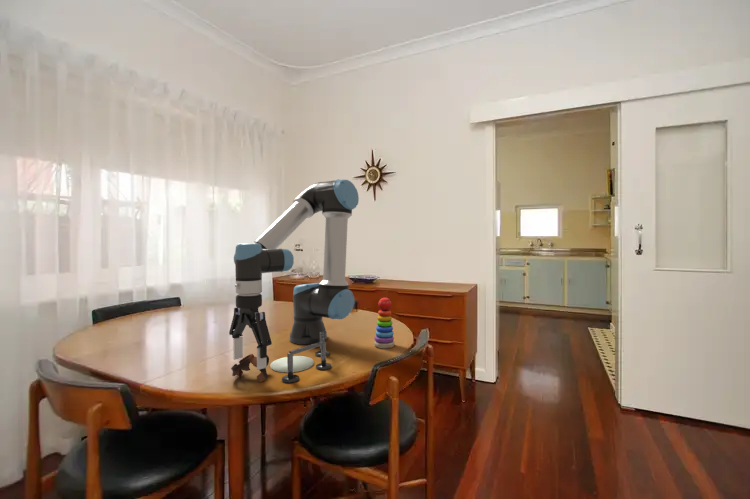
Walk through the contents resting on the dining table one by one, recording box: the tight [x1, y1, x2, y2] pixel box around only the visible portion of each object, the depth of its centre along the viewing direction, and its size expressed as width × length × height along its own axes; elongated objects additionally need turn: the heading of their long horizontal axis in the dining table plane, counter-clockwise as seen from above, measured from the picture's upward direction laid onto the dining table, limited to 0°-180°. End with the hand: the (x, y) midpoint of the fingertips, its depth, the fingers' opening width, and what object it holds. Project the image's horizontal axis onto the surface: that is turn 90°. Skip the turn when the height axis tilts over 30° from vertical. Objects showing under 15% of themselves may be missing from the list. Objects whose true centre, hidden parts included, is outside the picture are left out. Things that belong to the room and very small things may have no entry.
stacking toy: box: [373, 297, 396, 349], centre depth 137 cm, size 8×8×19 cm
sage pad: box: [269, 355, 315, 374], centre depth 118 cm, size 14×14×1 cm
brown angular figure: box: [230, 353, 270, 383], centre depth 108 cm, size 12×10×8 cm
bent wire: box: [281, 331, 332, 384], centre depth 117 cm, size 15×26×8 cm, turn 139°
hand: (249, 363), depth 109 cm, fingers open, 13 cm apart
